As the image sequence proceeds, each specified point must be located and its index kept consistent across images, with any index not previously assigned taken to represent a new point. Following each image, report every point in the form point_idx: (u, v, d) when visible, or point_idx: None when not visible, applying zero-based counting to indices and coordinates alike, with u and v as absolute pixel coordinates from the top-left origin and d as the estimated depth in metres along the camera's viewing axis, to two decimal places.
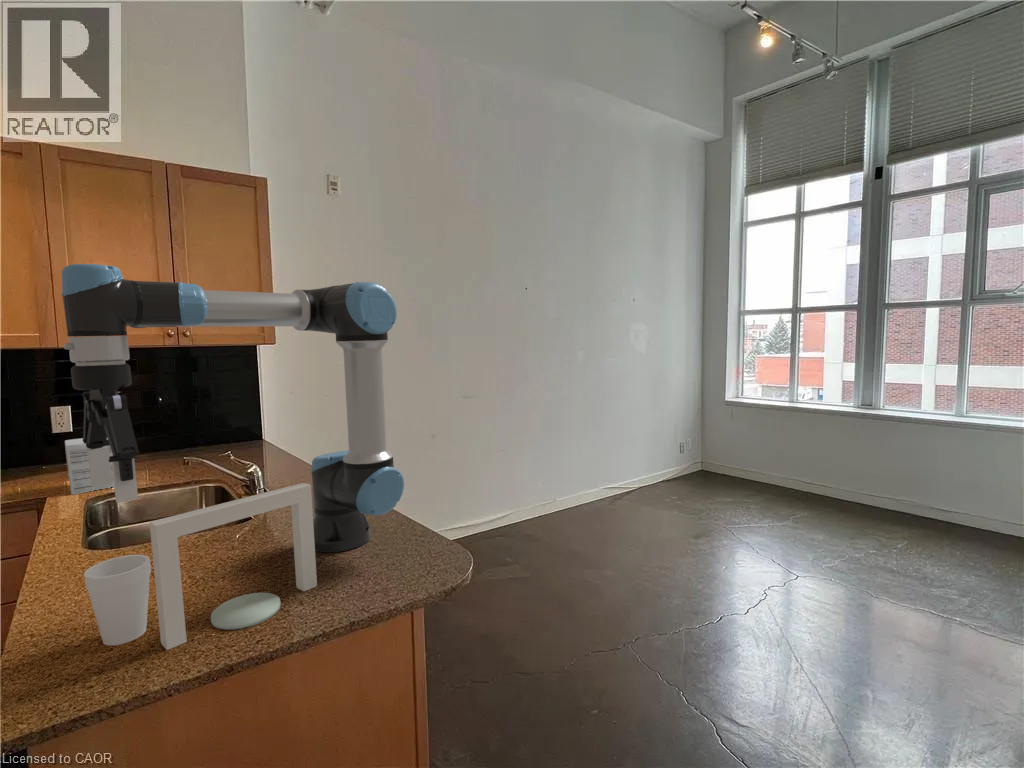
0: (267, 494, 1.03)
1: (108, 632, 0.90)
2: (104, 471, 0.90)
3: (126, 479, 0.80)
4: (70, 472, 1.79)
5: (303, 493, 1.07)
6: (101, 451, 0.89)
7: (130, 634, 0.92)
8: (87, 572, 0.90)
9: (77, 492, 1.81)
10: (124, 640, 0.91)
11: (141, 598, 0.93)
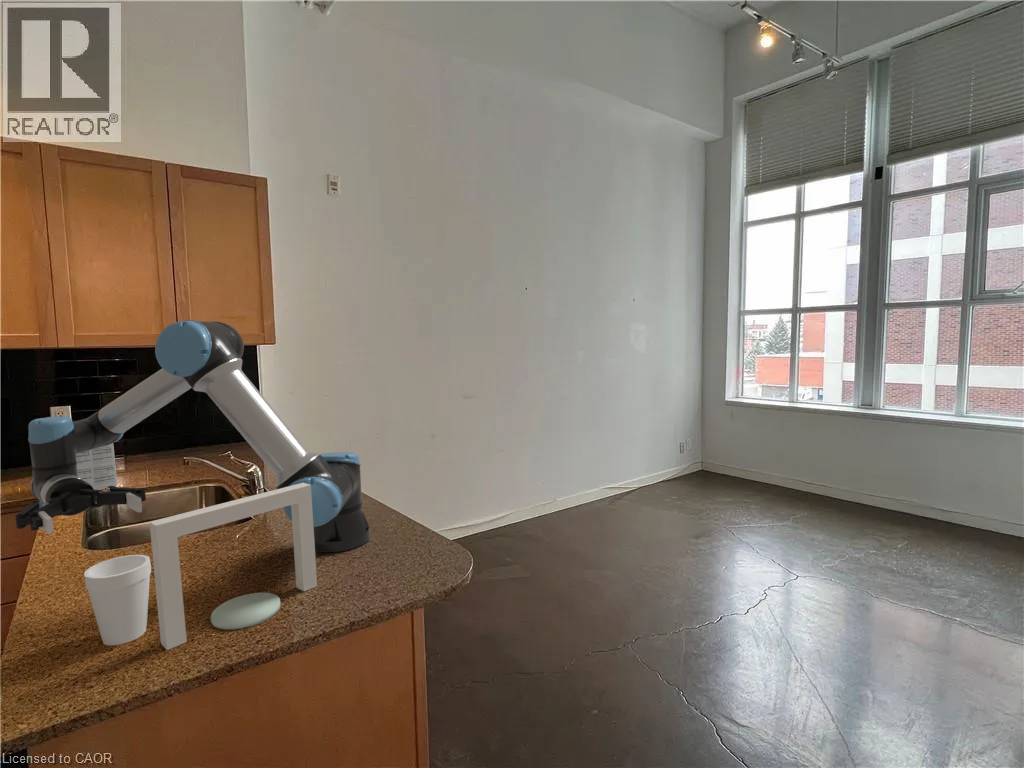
0: (267, 494, 1.03)
1: (108, 632, 0.90)
2: (133, 501, 1.05)
3: (35, 525, 0.94)
4: None
5: (303, 493, 1.07)
6: (127, 498, 1.07)
7: (130, 634, 0.92)
8: (87, 572, 0.90)
9: None
10: (124, 640, 0.91)
11: (141, 598, 0.93)
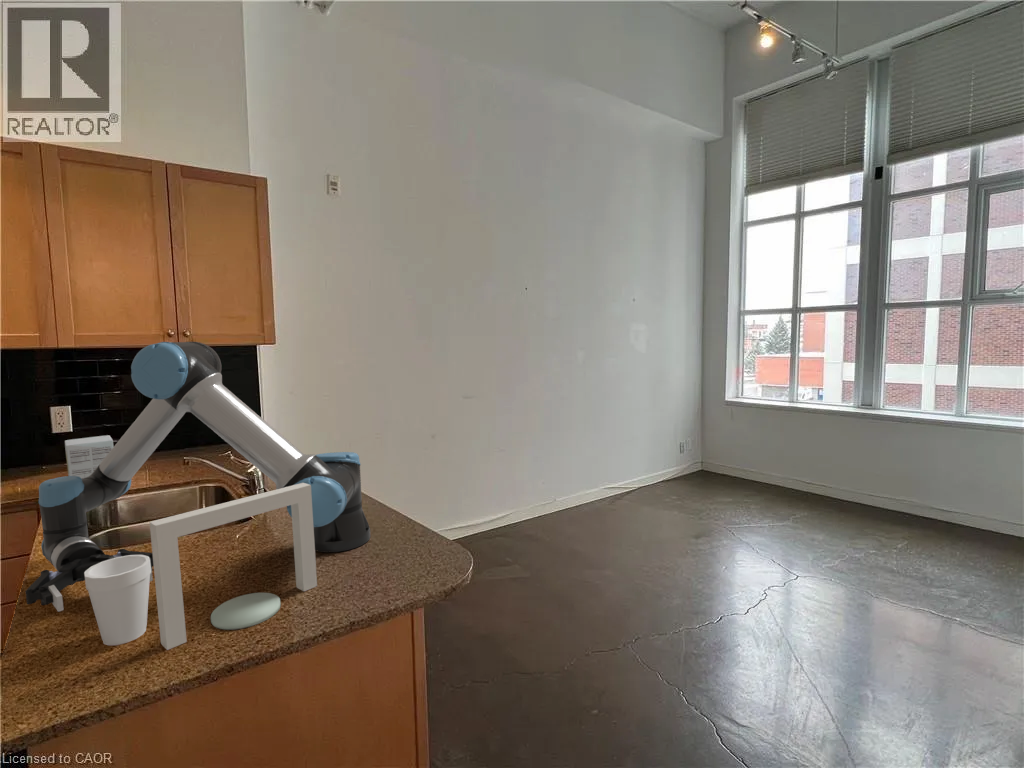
0: (267, 494, 1.03)
1: (108, 632, 0.90)
2: None
3: (45, 601, 0.93)
4: (70, 472, 1.79)
5: (303, 493, 1.07)
6: None
7: (130, 634, 0.92)
8: (87, 572, 0.90)
9: None
10: (124, 640, 0.91)
11: (141, 598, 0.93)
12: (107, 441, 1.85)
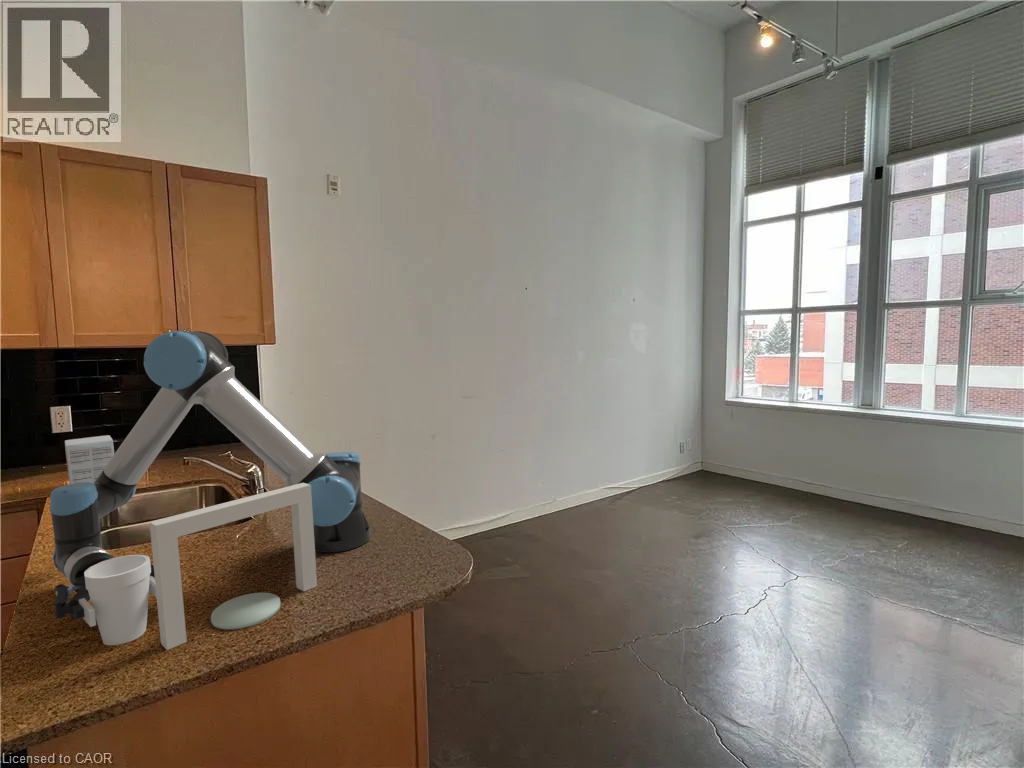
0: (267, 494, 1.03)
1: (108, 632, 0.90)
2: (155, 588, 0.96)
3: (76, 616, 0.88)
4: (70, 472, 1.79)
5: (303, 493, 1.07)
6: None
7: (130, 634, 0.92)
8: (87, 572, 0.90)
9: None
10: (124, 640, 0.91)
11: (141, 598, 0.93)
12: (107, 441, 1.85)
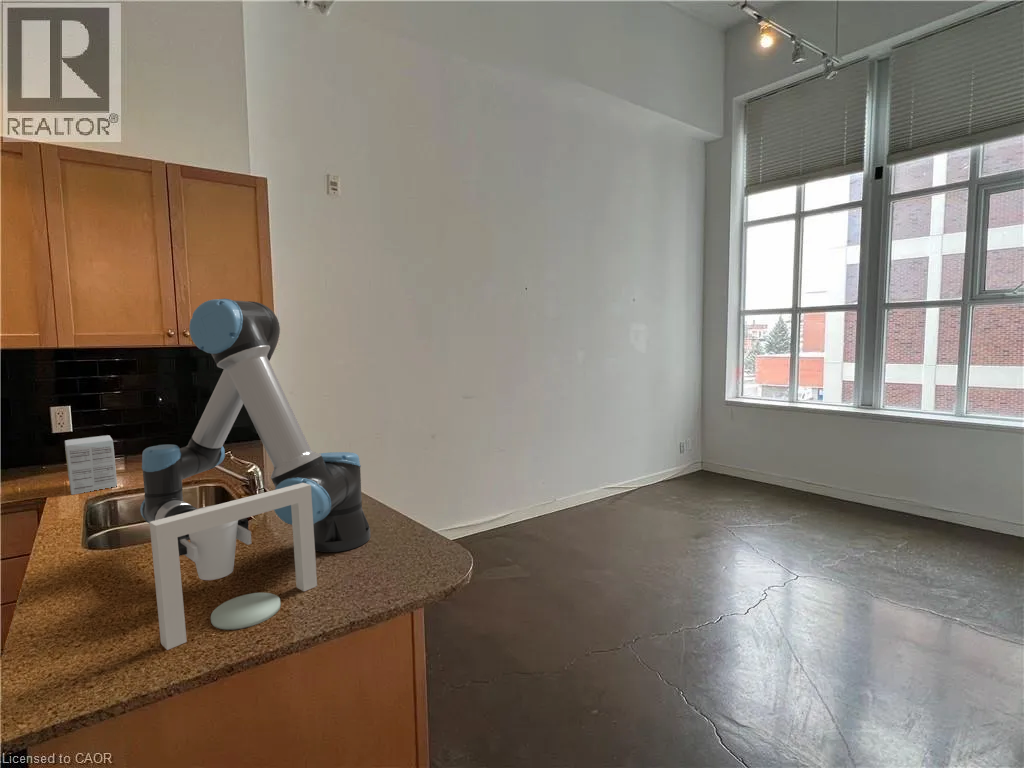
0: (267, 494, 1.03)
1: (205, 568, 1.04)
2: (242, 533, 1.10)
3: (180, 552, 1.02)
4: (70, 472, 1.79)
5: (303, 493, 1.07)
6: None
7: (222, 571, 1.06)
8: None
9: (77, 492, 1.81)
10: (218, 576, 1.05)
11: (232, 540, 1.07)
12: (107, 441, 1.85)
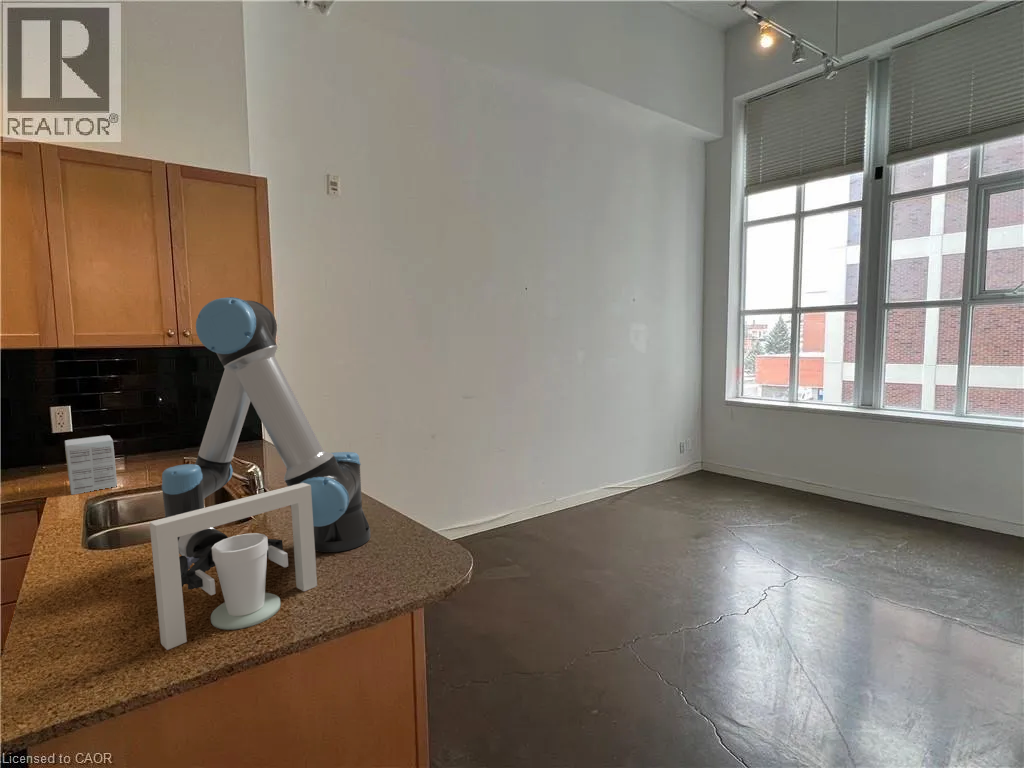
0: (267, 494, 1.03)
1: (235, 603, 0.97)
2: (278, 555, 1.04)
3: (195, 585, 0.94)
4: (70, 472, 1.79)
5: (303, 493, 1.07)
6: (269, 551, 1.07)
7: (253, 605, 0.99)
8: (214, 548, 0.97)
9: (77, 492, 1.81)
10: (249, 611, 0.98)
11: (262, 572, 1.00)
12: (107, 441, 1.85)
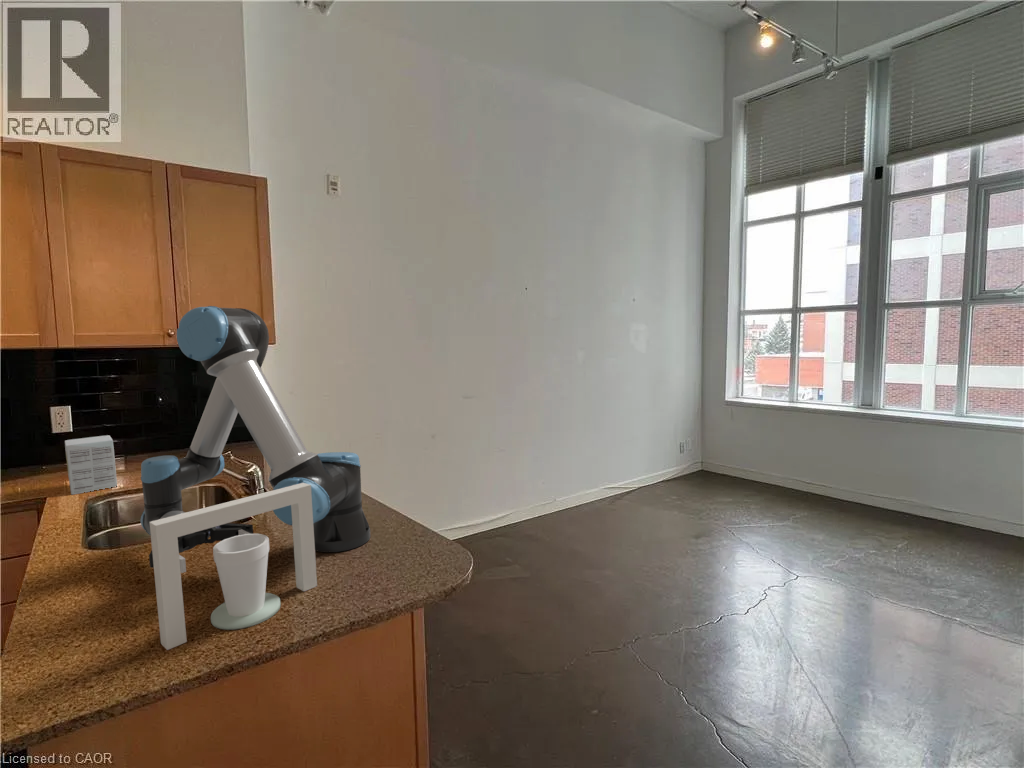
0: (267, 494, 1.03)
1: (235, 604, 0.97)
2: None
3: None
4: (70, 472, 1.79)
5: (303, 493, 1.07)
6: None
7: (254, 606, 0.99)
8: (216, 548, 0.97)
9: (77, 492, 1.81)
10: (249, 612, 0.98)
11: (263, 573, 1.00)
12: (107, 441, 1.85)
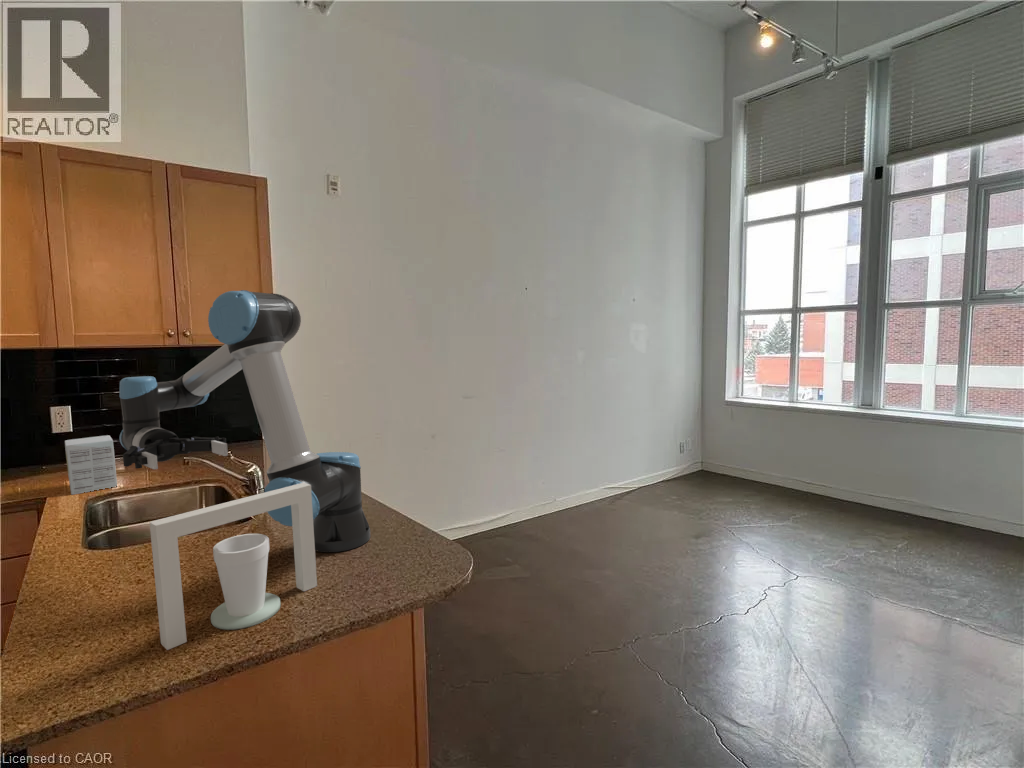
0: (267, 494, 1.03)
1: (235, 604, 0.97)
2: (219, 446, 1.17)
3: (141, 462, 1.07)
4: (70, 472, 1.79)
5: (303, 493, 1.07)
6: (212, 445, 1.20)
7: (254, 606, 0.99)
8: (216, 548, 0.97)
9: (77, 492, 1.81)
10: (249, 612, 0.98)
11: (263, 573, 1.00)
12: (107, 441, 1.85)
